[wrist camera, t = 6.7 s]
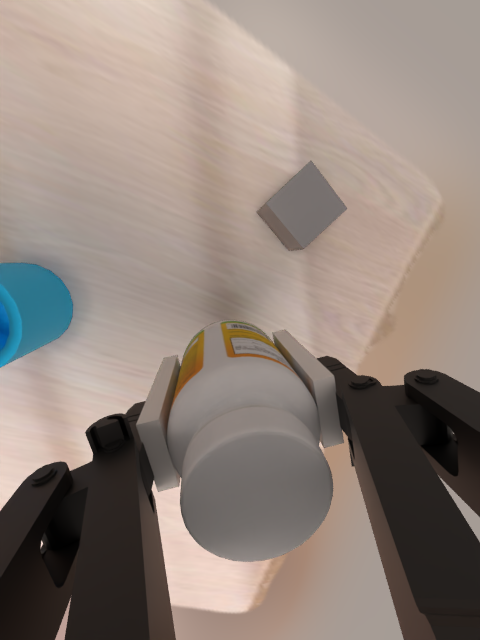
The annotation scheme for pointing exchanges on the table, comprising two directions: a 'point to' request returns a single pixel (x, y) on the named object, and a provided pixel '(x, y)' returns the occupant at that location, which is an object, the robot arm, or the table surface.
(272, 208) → the charcoal cube
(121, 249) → the table surface
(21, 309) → the mug
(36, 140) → the table surface
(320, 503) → the supplement bottle
